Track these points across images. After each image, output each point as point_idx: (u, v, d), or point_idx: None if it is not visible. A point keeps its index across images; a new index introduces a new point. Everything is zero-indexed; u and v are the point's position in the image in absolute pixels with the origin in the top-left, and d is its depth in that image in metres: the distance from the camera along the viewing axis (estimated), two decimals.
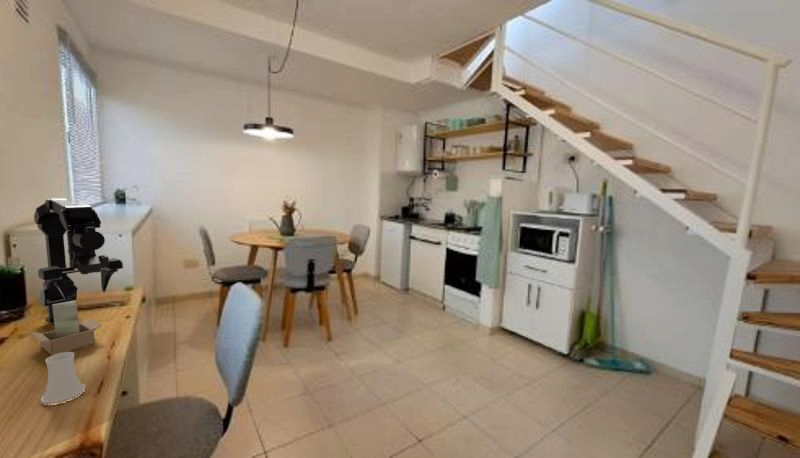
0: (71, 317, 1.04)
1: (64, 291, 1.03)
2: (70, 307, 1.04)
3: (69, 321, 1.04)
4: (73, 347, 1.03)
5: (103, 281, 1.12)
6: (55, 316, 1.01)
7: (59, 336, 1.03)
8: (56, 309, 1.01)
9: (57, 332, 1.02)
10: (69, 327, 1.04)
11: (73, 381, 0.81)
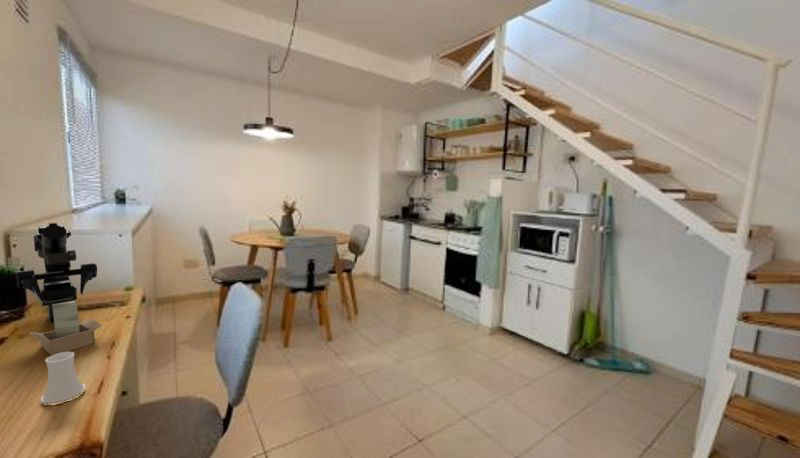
0: (71, 317, 1.04)
1: (38, 291, 1.06)
2: (70, 307, 1.04)
3: (69, 321, 1.04)
4: (73, 347, 1.03)
5: (80, 284, 1.14)
6: (55, 316, 1.01)
7: (59, 336, 1.03)
8: (56, 309, 1.01)
9: (57, 332, 1.02)
10: (69, 327, 1.04)
11: (73, 381, 0.81)
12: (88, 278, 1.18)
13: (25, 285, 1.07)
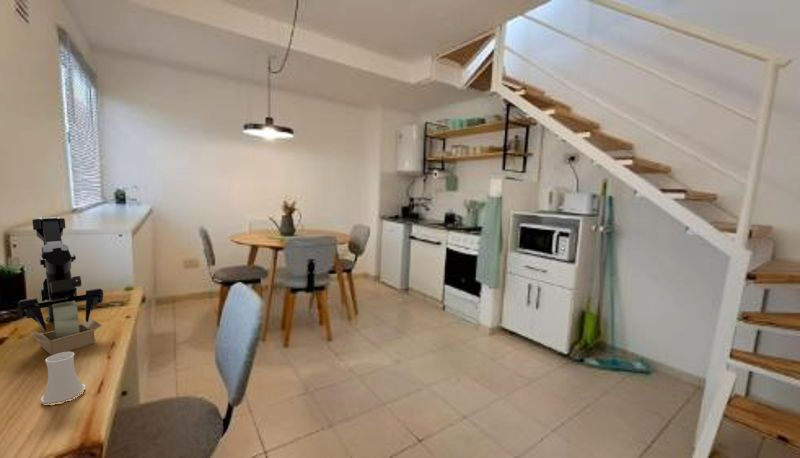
0: (71, 317, 1.04)
1: (42, 321, 1.01)
2: (70, 307, 1.04)
3: (69, 321, 1.04)
4: (73, 347, 1.03)
5: None
6: (55, 316, 1.01)
7: (59, 336, 1.03)
8: (56, 309, 1.01)
9: (57, 332, 1.02)
10: (69, 327, 1.04)
11: (73, 381, 0.81)
12: (94, 304, 1.13)
13: (28, 314, 1.01)
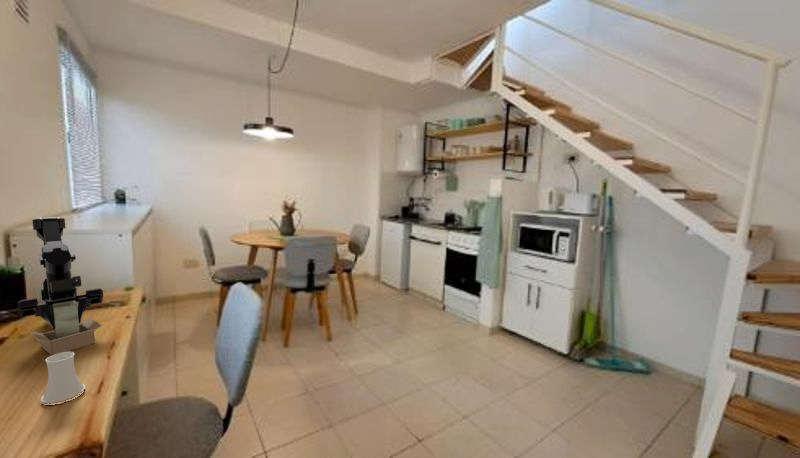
0: (71, 317, 1.04)
1: (51, 319, 1.02)
2: (71, 307, 1.04)
3: (70, 321, 1.04)
4: (73, 347, 1.03)
5: None
6: (55, 316, 1.01)
7: (59, 336, 1.03)
8: (57, 308, 1.02)
9: (57, 332, 1.02)
10: (69, 327, 1.04)
11: (73, 381, 0.81)
12: (86, 305, 1.11)
13: (37, 312, 1.03)
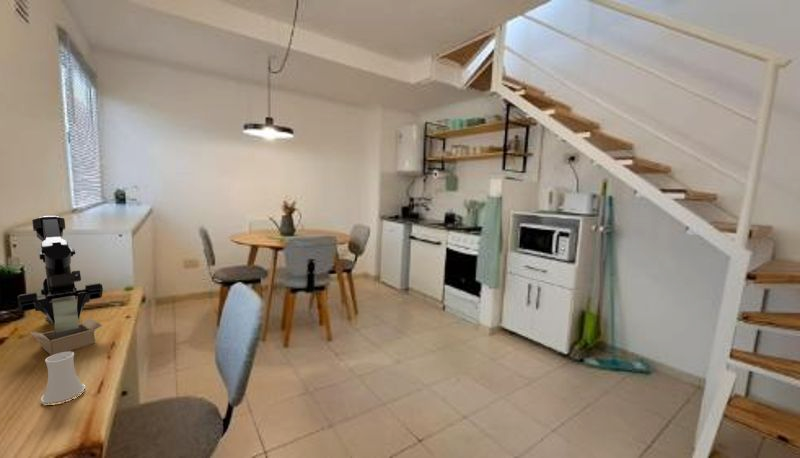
0: (70, 312, 1.04)
1: (50, 313, 1.02)
2: (70, 302, 1.03)
3: (69, 316, 1.04)
4: (73, 347, 1.03)
5: (77, 308, 1.07)
6: (54, 311, 1.01)
7: (58, 331, 1.02)
8: (56, 303, 1.01)
9: (56, 327, 1.02)
10: (69, 322, 1.04)
11: (73, 381, 0.81)
12: (85, 300, 1.11)
13: (37, 307, 1.03)
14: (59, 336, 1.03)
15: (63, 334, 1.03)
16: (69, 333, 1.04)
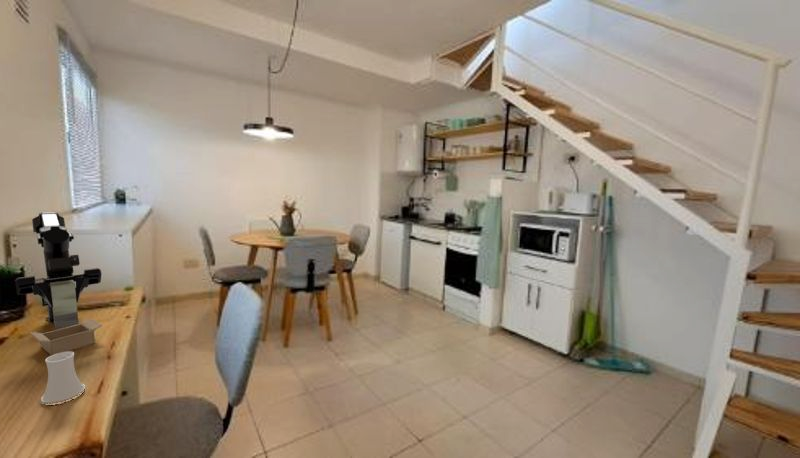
0: (69, 296, 1.03)
1: (49, 297, 1.02)
2: (68, 286, 1.03)
3: (67, 299, 1.03)
4: (73, 347, 1.03)
5: None
6: (53, 294, 1.01)
7: (57, 315, 1.02)
8: (54, 287, 1.01)
9: (54, 311, 1.01)
10: (67, 306, 1.03)
11: (73, 381, 0.81)
12: (84, 285, 1.11)
13: (35, 291, 1.02)
14: (57, 320, 1.02)
15: (61, 318, 1.03)
16: (67, 317, 1.04)
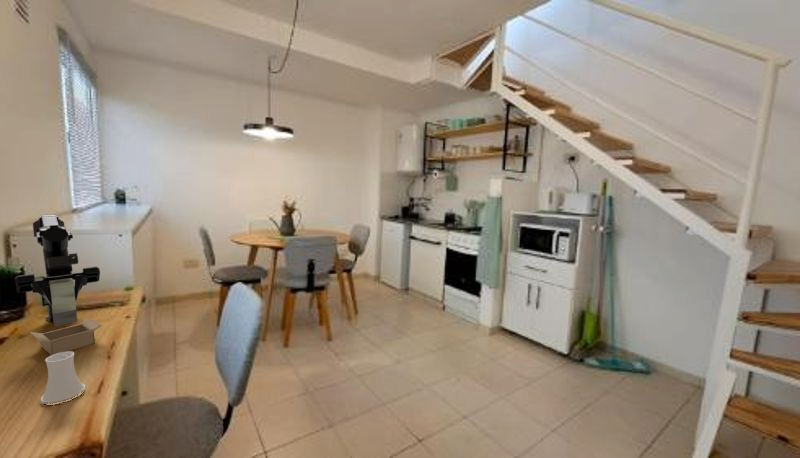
0: (68, 293, 1.05)
1: (48, 295, 1.03)
2: (67, 284, 1.04)
3: (66, 297, 1.05)
4: (73, 347, 1.03)
5: (74, 290, 1.08)
6: (52, 292, 1.02)
7: (56, 312, 1.03)
8: (53, 285, 1.02)
9: (53, 308, 1.03)
10: (66, 304, 1.05)
11: (73, 381, 0.82)
12: (83, 283, 1.12)
13: (34, 288, 1.04)
14: (56, 317, 1.04)
15: (60, 315, 1.04)
16: (66, 315, 1.05)
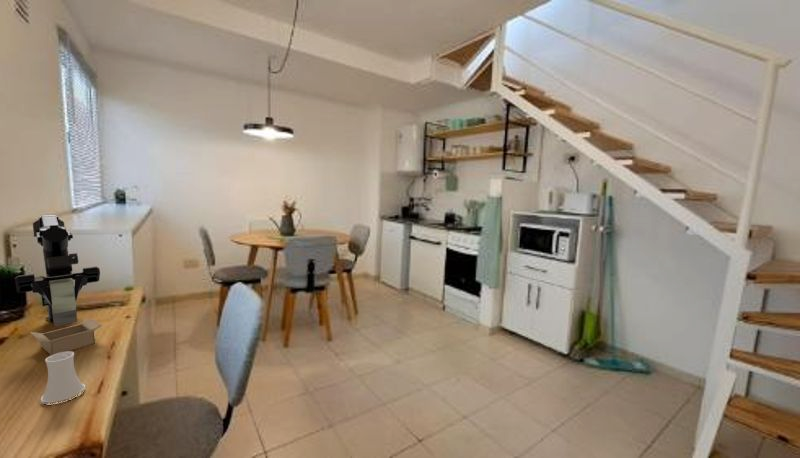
0: (68, 293, 1.05)
1: (48, 295, 1.03)
2: (67, 284, 1.04)
3: (66, 297, 1.05)
4: (73, 347, 1.03)
5: (74, 290, 1.08)
6: (52, 292, 1.02)
7: (56, 312, 1.03)
8: (53, 285, 1.02)
9: (53, 308, 1.03)
10: (66, 304, 1.05)
11: (73, 381, 0.82)
12: (83, 283, 1.12)
13: (34, 288, 1.04)
14: (56, 317, 1.04)
15: (60, 315, 1.04)
16: (66, 315, 1.05)
